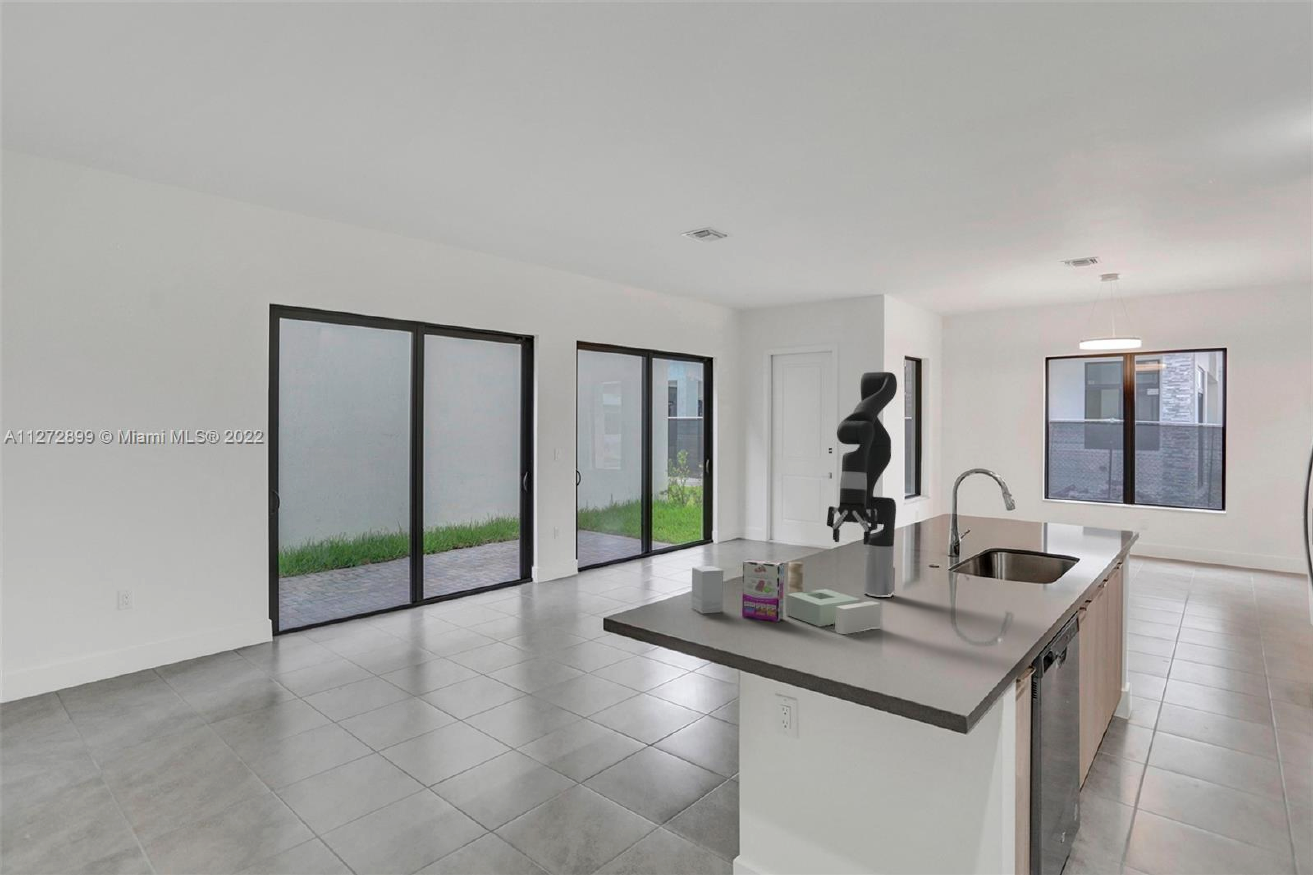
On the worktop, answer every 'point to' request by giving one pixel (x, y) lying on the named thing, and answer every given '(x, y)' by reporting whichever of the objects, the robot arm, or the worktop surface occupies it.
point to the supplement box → (707, 589)
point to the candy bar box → (763, 590)
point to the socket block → (817, 605)
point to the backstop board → (857, 617)
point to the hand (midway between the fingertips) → (851, 543)
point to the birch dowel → (795, 577)
